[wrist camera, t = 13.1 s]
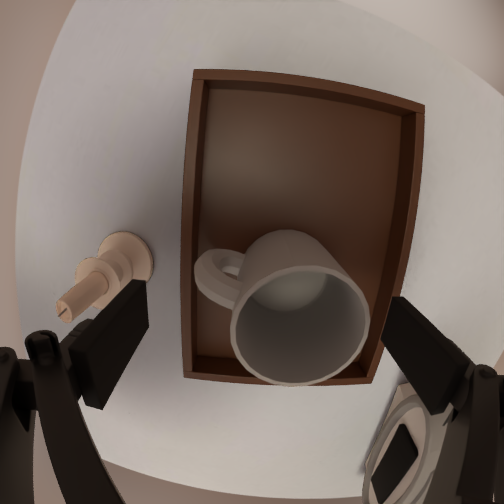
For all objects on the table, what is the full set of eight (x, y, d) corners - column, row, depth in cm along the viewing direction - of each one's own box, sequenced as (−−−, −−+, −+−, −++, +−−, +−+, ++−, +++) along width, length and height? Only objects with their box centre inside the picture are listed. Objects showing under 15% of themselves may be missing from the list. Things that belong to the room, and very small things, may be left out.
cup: (306, 325, 24) (328, 397, 15) (192, 284, 23) (161, 346, 14) (345, 248, 22) (393, 293, 14) (223, 199, 21) (203, 218, 13)
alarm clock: (399, 363, 26) (453, 450, 14) (443, 354, 26) (502, 427, 14) (353, 475, 33) (370, 540, 20) (389, 467, 33) (411, 527, 20)
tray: (201, 82, 20) (193, 69, 16) (405, 111, 20) (425, 104, 17) (190, 355, 26) (183, 377, 23) (361, 363, 26) (371, 383, 23)
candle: (99, 283, 24) (33, 341, 14) (100, 226, 23) (22, 264, 13) (151, 295, 24) (100, 366, 14) (156, 236, 23) (93, 284, 13)
